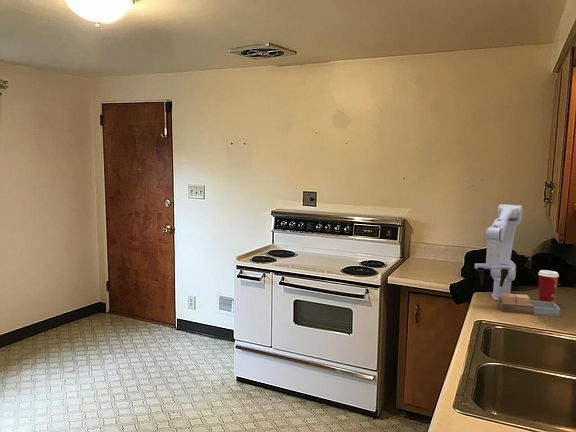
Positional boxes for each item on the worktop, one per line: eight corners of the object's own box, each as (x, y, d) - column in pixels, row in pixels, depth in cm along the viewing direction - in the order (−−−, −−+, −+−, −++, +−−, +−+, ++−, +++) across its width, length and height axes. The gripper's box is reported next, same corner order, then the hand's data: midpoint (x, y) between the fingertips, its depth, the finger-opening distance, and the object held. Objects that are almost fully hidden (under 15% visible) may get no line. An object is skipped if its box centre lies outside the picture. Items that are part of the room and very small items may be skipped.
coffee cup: (559, 307, 215) (561, 274, 213) (538, 306, 216) (541, 273, 215) (553, 302, 223) (555, 270, 221) (533, 301, 224) (535, 269, 223)
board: (497, 304, 219) (498, 296, 219) (527, 306, 216) (527, 298, 216) (502, 311, 208) (502, 303, 207) (533, 314, 205) (533, 306, 204)
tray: (527, 306, 216) (528, 300, 215) (553, 308, 213) (553, 302, 213) (533, 314, 205) (533, 307, 205) (560, 316, 202) (560, 309, 202)
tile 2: (514, 299, 214) (514, 294, 214) (526, 300, 213) (527, 295, 212) (516, 302, 209) (516, 297, 209) (529, 303, 208) (529, 298, 208)
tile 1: (500, 298, 215) (501, 293, 215) (513, 299, 214) (513, 294, 214) (502, 301, 210) (503, 296, 210) (515, 302, 209) (515, 297, 209)
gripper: (476, 255, 209) (474, 286, 210) (513, 257, 205) (511, 289, 207) (474, 252, 215) (473, 282, 217) (510, 254, 212) (508, 285, 213)
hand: (491, 285), depth 212 cm, fingers open, 7 cm apart
